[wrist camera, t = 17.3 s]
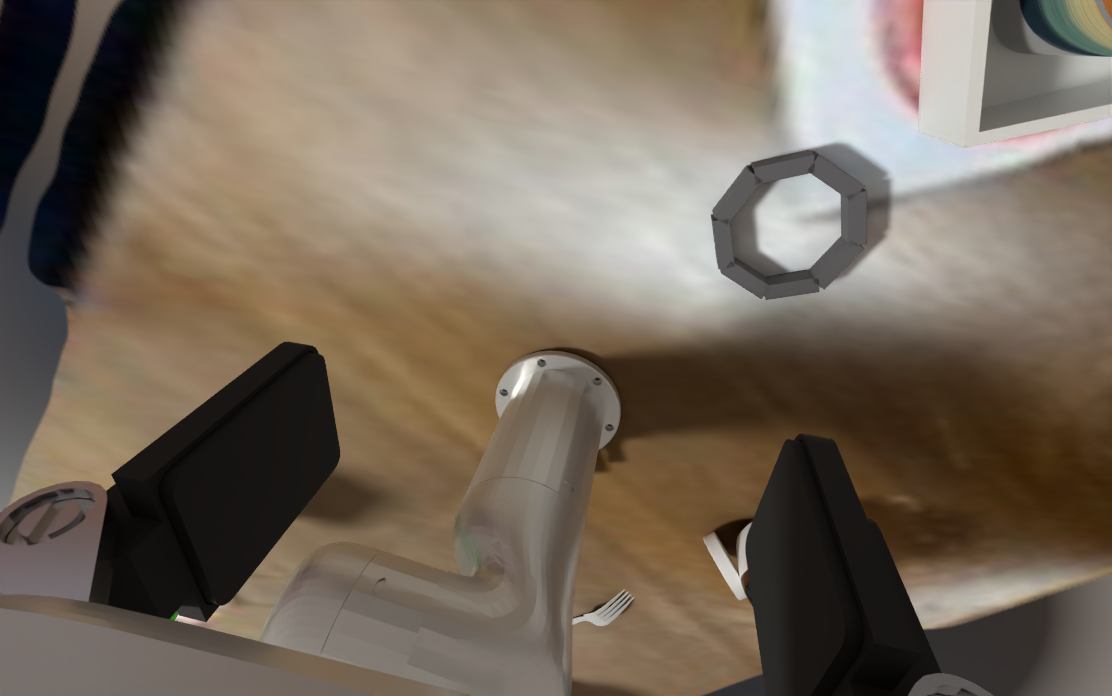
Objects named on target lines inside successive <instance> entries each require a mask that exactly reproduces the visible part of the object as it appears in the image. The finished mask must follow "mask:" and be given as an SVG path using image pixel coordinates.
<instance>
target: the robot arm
mask: <svg viewBox="0 0 1112 696" xmlns="http://www.w3.org/2000/svg"><path fill="white" fill-rule="evenodd" d="M542 359H543V360H542ZM495 402H496V409H497V413H498V416H499V418H500V420H499V422H498V424H497V426H496V428H495V431H494V433H493V435H492V437H491V439H490V442H489V444H488V446H487V448H486V450H485V453H484V455H483V457H482V459H481V461H480V464H479V466H478V468H477V470H476V472H475V475H474V477H473V479H472V481H471V483H470V486H469V488H468V490H467V492H466V494H465V497H464V499H463V501H462V504H461V506H460V508H459V510H458V513H457V516H456V519H455V524H454V529H453V550H454V556H455V561H456V565H457V569H458V572H459V574H457V573H453V572H450V571H448V572H446V571H443V570H440V569H437V568H434V567H431V566H428V565H425V564H422V563H418V562H415V561H412V560H409V559H406V558H403V557H400V556H397V555H394V554H391V553H388V552H384V551H381V550H378V549H375V548H372V547H368V546H364V545H360V544H355V543H348V542H339V543H331V544H328V545H325V546H323V547H321V548H319V549H317V550H316V551H314V552H313V553H311V554H310V555H309V556H308V557H307V558H305V559H304V560H303V561H302V563H301V564H300V565H299V566H298V567H297V568H296V570H295V571H294V572H293V574H292V575H291V576H290V578H289V579H288V581H287V583H286V584H285V586H284V588H283V589H282V591H281V593H280V595H279V596H278V598H277V600H276V602H275V604H274V606H273V608H272V610H271V612H270V614H269V616H268V618H267V621H266V623H265V625H264V627H263V630H262V632H261V635H260V637H259V639H258V641H255V640H251V639H247V638H243V637H239V636H235V635H231V634H227V633H223V632H219V631H215V630H211V629H207V628H203V627H199V626H195V625H191V624H187V623H182V622H178V621H174V620H169V619H170V618H171V617H172V616H173V615H174V614H175V613H176V611H177V612H178V614H179V615H180V616H184V617H188V618H192V619H196V620H200V621H204V622H207V621H208V619H209V618H210V617H211V616H212V614H213V613H214V612H215V611H216V609H217V608H218V607H219V606H220V605H221V606H222V605H225V604H227V603H228V602H230V601H231V599H232V598H233V597H234V596H235V595H236V594H237V592H238V591H239V590H240V589H241V587H242V586H243V585H244V583H245V582H246V581H247V580H248V578H249V577H250V576H251V575H252V573H253V572H254V571H255V569H256V568H257V567H258V566H259V564H260V563H261V562H262V561H263V559H264V558H265V557H266V556H267V554H268V553H269V552H270V550H271V549H272V548H273V547H274V545H275V544H276V543H277V542H278V540H279V539H280V538H281V537H282V535H283V534H284V533H285V531H286V530H287V529H288V528H289V526H290V525H291V524H292V523H293V521H294V520H295V519H296V517H297V516H298V515H299V514H300V512H301V511H302V510H303V509H304V507H305V506H306V505H307V504H308V502H309V501H310V500H311V498H312V497H313V496H314V495H315V493H316V492H317V491H318V490H319V488H320V487H321V486H322V485H323V483H324V482H325V481H326V479H327V478H328V477H329V476H330V474H331V473H332V472H333V471H334V469H335V468H336V466H337V464H338V462H339V458H340V447H339V441H338V435H337V429H336V424H335V418H334V412H333V406H332V400H331V394H330V388H329V382H328V376H327V370H326V364H325V360H324V357H323V356H322V355H320V354H318V351H317V349H316V348H315V347H313V346H310V345H304V344H299V343H293V342H283V343H281V344H280V345H278V346H277V347H276V348H275V349H273V350H272V351H271V352H269V353H268V354H267V355H266V356H264V357H263V358H262V359H260V360H259V361H258V362H256V363H255V364H254V365H253V366H251V367H250V368H249V369H247V370H246V371H245V372H243V373H242V374H241V375H240V376H238V377H237V378H236V379H234V380H233V381H232V382H231V383H229V384H228V385H227V386H225V387H224V388H223V389H221V390H220V391H219V392H218V393H216V394H215V395H214V396H212V397H211V398H210V399H208V400H207V401H206V402H205V403H203V404H202V405H201V406H199V407H198V408H197V409H196V410H194V411H193V412H192V413H190V414H189V415H188V416H186V417H185V418H184V419H183V420H181V421H180V422H179V423H177V424H176V425H175V426H173V427H172V428H171V429H170V430H168V431H167V432H166V433H164V434H163V435H162V436H161V437H159V438H158V439H157V440H155V441H154V442H153V443H151V444H150V445H149V446H148V447H146V448H145V449H144V450H142V451H141V452H140V453H138V454H137V455H136V456H135V457H133V458H132V459H131V460H129V461H128V462H127V463H126V464H124V465H123V466H122V467H120V468H119V469H118V470H116V471H115V472H114V473H113V474H111V475H112V477H113V479H114V481H115V483H116V484H115V485H113V486H112V487H111V488H110V489H108V490H107V491H106V490H105V489H104V488H103V487H102V486H101V485H99V484H95V483H92V482H89V481H72V482H66V483H60V484H56V485H52V486H49V487H46V488H43V489H39V490H37V491H35V492H33V493H31V494H29V495H26V496H24V497H22V498H20V499H19V500H17V501H16V502H14V503H12V504H11V505H9V506H8V507H6V508H5V509H4V510H3V511H2V512H0V696H571V690H572V624H573V604H574V594H575V585H576V577H577V570H578V564H579V558H580V552H581V546H582V540H583V534H584V528H585V523H586V517H587V511H588V506H589V500H590V495H591V489H592V483H593V478H594V472H595V466H596V461H597V455H598V450H600V449H601V448H603V447H604V446H605V445H606V444H607V443H608V442H610V441H611V439H612V438H613V436H614V435H615V433H616V432H617V429H618V426H619V423H620V417H621V401H620V397H619V393H618V391H617V389H616V387H615V385H614V383H613V382H612V381H611V379H610V378H609V377H608V375H607V374H606V373H605V372H604V371H603V370H601V369H600V368H599V367H598V366H597V365H595V364H594V363H592V362H590V361H589V360H587V359H585V358H583V357H580V356H578V355H576V354H572V353H568V352H563V351H551V350H550V351H540V352H535V353H532V354H528V355H526V356H524V357H522V358H520V359H518V360H517V361H515V362H514V363H513V364H512V365H511V366H509V368H508V369H507V370H506V371H505V373H504V374H503V376H502V378H501V380H500V382H499V384H498V387H497V390H496V400H495ZM745 553H746V561H747V568H748V574H749V581H750V588H751V595H752V602H753V609H754V615H755V622H756V629H757V636H758V643H759V650H760V656H761V663H762V670H763V676H764V683H765V691H766V696H993V695H991V694H990V693H988V692H986V691H985V690H983V689H982V688H980V687H979V686H977V685H976V684H974V683H972V682H969V681H967V680H964V679H962V678H959V677H957V676H954V675H948V674H942V673H941V671H940V668H939V666H938V664H937V661H936V659H935V657H934V654H933V652H932V650H931V647H930V645H929V643H928V640H927V638H926V636H925V633H924V631H923V629H922V626H921V624H920V622H919V619H918V617H917V615H916V612H915V610H914V608H913V605H912V603H911V601H910V598H909V596H908V594H907V591H906V589H905V587H904V584H903V582H902V580H901V577H900V575H899V573H898V570H897V568H896V566H895V563H894V561H893V559H892V556H891V554H890V552H889V549H888V547H887V545H886V542H885V540H884V538H883V535H882V533H881V531H880V529H879V528H878V526H877V524H876V523H875V522H874V521H872V520H871V519H867V518H866V515H865V513H864V511H863V508H862V506H861V503H860V501H859V498H858V496H857V494H856V491H855V489H854V486H853V484H852V481H851V479H850V477H849V474H848V472H847V469H846V467H845V464H844V462H843V460H842V457H841V455H840V452H839V450H838V447H837V445H836V443H835V442H834V440H832V439H828V438H823V437H817V436H811V435H806V434H799V435H798V436H797V437H796V438H795V440H790V439H788V440H786V441H785V443H784V445H783V447H782V449H781V452H780V454H779V457H778V459H777V462H776V464H775V467H774V469H773V472H772V474H771V477H770V479H769V482H768V484H767V487H766V489H765V492H764V494H763V497H762V499H761V502H760V504H759V507H758V509H757V512H756V514H755V516H754V519H753V521H752V524H751V526H750V529H749V531H748V534H747V538H746V544H745Z"/></svg>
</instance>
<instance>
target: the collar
mask: <svg viewBox="0 0 1112 696" xmlns="http://www.w3.org/2000/svg"><path fill="white" fill-rule="evenodd" d="M751 169H752V170H751ZM751 169H750V168H748V167H747V166H746V167H745V168H744V169H743V171H742V172H741V173H740V175H739V176H738V177H737V179H736V180H735V181H734V183H733V184H732V185H731V186H730V188H729V189H728V190H727V192H726V193H725V194H724V196H723V197H722V198H721V199H720V201H719V202H718V203H717V205H716V206H715V207H714V209H713V210H712V211H713V215H711V219H712V227H713V234H714V242H715V250H716V257H717V264H718V268H719V269H720V270H721V273H722V274H723V275H725V276H726V277H728V278H729V279H731V280H732V281H734V282H736V283H737V284H739V285H740V286H742V287H743V288H745V289H746V290H748V291H750V292H751V293H753V294H754V295H756V296H757V297H759V298H760V299H762V298H763V296H765V299H766V300H769V299H775V298H782V297H788V296H795V295H801V294H808V293H815V292H819V286H820V287H822V288H823V289H825V288H826V287H827V286H828V285H829V284H830V283H831V282H832V281H833V280H834V279H835V278H836V277H837V276H838V275H839V274H840V273H841V272H842V271H843V270H844V269H845V268H846V267H847V266H848V265H849V264H850V263H851V262H852V261H853V260H854V259H855V258H856V257H857V256H858V255H859V254H860V253H861V252H862V251H863V250H864V248H863V247H862V246H861V245H864V244H867V191H866V190H865V189H864V187H865V186H863V185H862V184H861V183H859V182H858V181H856V180H855V179H854V178H852V177H851V176H849V175H848V174H846V173H845V172H844V171H842V170H841V169H839V168H838V167H836V166H835V165H833V164H832V163H831V162H829V161H828V160H826V159H825V158H823V157H822V156H820V155H819V154H818V153H816V152H815V151H813V152H810V151H809V150H806V151H802V152H797V153H793V154H788V155H784V156H779V157H775V158H770V159H766V160H762V161H757V162H753V163H751ZM808 173H811V174H812V175H814V176H815V177H817V178H818V179H820V180H821V181H823V182H824V183H825V184H827V185H828V186H830V187H831V188H833V189H834V190H836V191H837V192H839V193H840V194H841V235H842V236H841V237H840V238H839V239H838V240H837V241H836V242H835V243H834V244H833V245H832V246H831V247H830V248H829V249H828V251H827V252H826V253H825V254H824V255H823V256H822V257H821V258H820V259H819V260H818V261H817V262H816V263H815V264H814V265H813V266H812V267H811V268H810V270H804V271H798V272H792V273H786V274H780V275H773V276H767V277H765V276H763V275H762V274H760V273H759V272H757V271H755V270H754V269H752V268H751V267H749V266H748V265H746V264H745V263H743V262H742V261H740V260H739V259H737V258H735V257H734V256H733V248H732V239H731V230H730V221H731V220H732V218H733V217H734V216H735V215H736V213H737V212H738V211H739V210H740V208H741V207H742V206H743V205H744V203H745V202H746V201H747V200H748V198H749V197H750V196H751V195H752V193H753V192H754V191H755V190H756V188H757V187H758V186H759V184H761V183H766V182H771V181H776V180H780V179H785V178H790V177H794V176H799V175H804V174H808Z"/></svg>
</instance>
